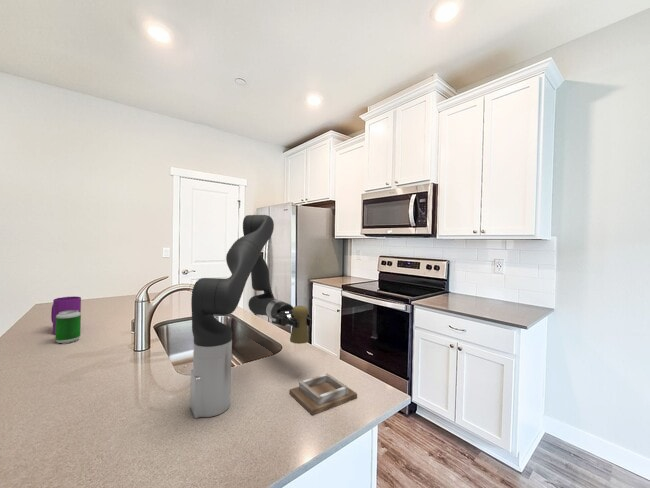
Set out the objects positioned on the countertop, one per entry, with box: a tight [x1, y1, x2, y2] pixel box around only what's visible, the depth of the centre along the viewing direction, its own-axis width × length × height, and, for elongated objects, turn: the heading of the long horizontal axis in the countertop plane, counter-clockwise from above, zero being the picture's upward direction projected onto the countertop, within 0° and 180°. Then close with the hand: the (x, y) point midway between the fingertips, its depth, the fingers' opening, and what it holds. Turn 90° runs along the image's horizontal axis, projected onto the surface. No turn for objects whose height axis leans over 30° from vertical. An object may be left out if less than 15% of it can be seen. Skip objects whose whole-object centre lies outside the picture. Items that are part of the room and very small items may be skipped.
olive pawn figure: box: [289, 305, 310, 345], centre depth 92 cm, size 6×6×11 cm
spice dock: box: [288, 373, 358, 416], centre depth 81 cm, size 15×12×3 cm
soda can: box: [55, 310, 82, 344], centre depth 116 cm, size 8×8×12 cm
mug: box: [50, 296, 82, 335], centre depth 128 cm, size 9×16×15 cm, turn 68°
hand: (304, 323), depth 89 cm, fingers closed on olive pawn figure, 4 cm apart
